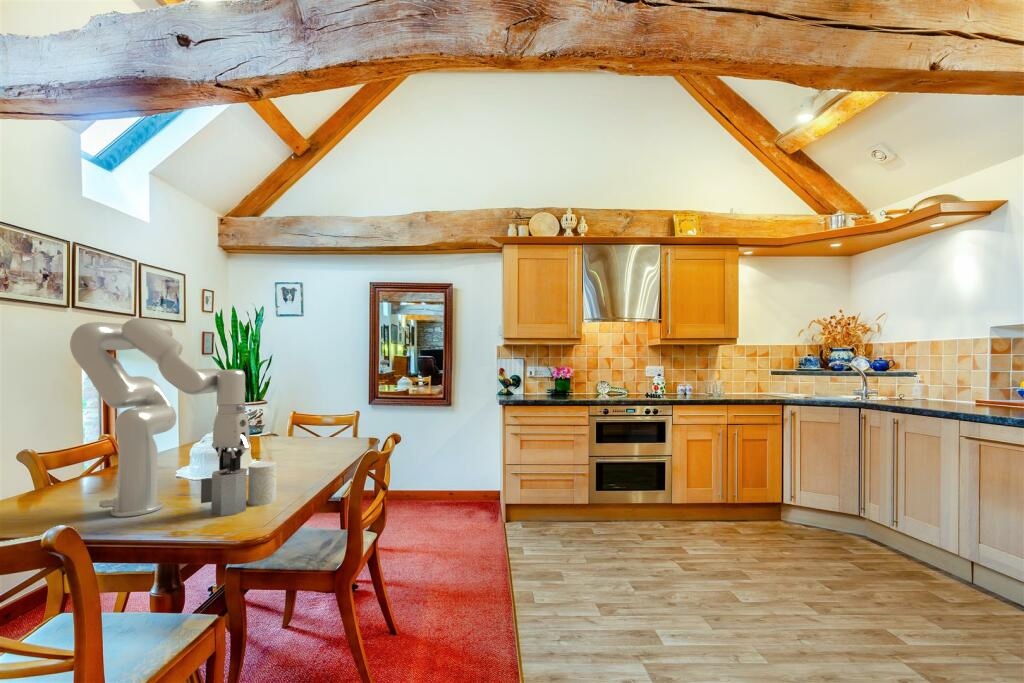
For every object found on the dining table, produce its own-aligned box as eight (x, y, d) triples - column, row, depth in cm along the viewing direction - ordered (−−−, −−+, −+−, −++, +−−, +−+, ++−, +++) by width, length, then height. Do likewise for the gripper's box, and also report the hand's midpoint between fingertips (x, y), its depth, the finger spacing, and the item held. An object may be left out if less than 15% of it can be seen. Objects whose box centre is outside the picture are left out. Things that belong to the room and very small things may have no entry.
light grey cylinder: (251, 507, 152) (251, 468, 152) (245, 500, 158) (246, 464, 158) (279, 502, 157) (279, 464, 157) (272, 496, 163) (273, 460, 163)
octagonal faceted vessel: (199, 519, 141) (199, 477, 141) (202, 510, 149) (203, 470, 149) (245, 513, 146) (246, 473, 146) (246, 504, 154) (246, 466, 154)
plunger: (221, 510, 146) (222, 453, 146) (222, 506, 149) (223, 451, 149) (235, 508, 147) (236, 452, 148) (236, 505, 150) (237, 450, 151)
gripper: (261, 409, 150) (261, 469, 149) (220, 407, 155) (219, 465, 154) (241, 412, 142) (240, 475, 142) (199, 410, 147) (198, 470, 147)
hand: (229, 469), depth 148 cm, fingers closed on plunger, 3 cm apart
